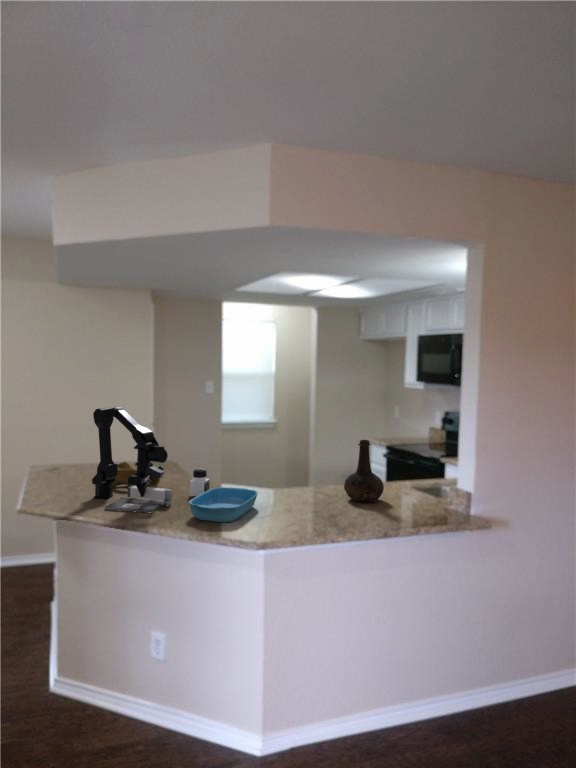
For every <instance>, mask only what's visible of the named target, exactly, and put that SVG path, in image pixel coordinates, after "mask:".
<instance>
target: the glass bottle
mask: <svg viewBox="0 0 576 768" xmlns="http://www.w3.org/2000/svg"><path fill="white" fill-rule="evenodd" d="M371 445H372V444H371V443H370V440H369V439H360V440H359V443H357V446H359V452H358V462H357V467H356V471H355V472H354V473H351V474H350V475H349V476H348V477H347V478H346V479H345V480H344V484H343V488H344V491H345V493H346V495H347V496H348V497H349V498H350V499H352V500H353V501H355V502H359V503H372V502H376V501H377V500H378V499H379V498H380V497H381V496H382V495H383V492H384V487H385V486H384V482H383V480H382V479H381V478H380V477H379V476H378V475H377V474H375V473H374V472H373V471H372V468H371V461H370V446H371Z"/></svg>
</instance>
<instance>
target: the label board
mask: <svg viewBox="0 0 576 768" xmlns="http://www.w3.org/2000/svg"><path fill="white" fill-rule="evenodd" d="M163 504H164V505H171V506H172V500H169V501H164V500H154V499H145V498H135V497H120V498H118V499H116V500H115V501H113V502H111V503H109V504H107V505H105V506H104V510H105V511H113V510H121V511H120V512H126V511H136V512H135V513H140V512H153V511H154V510H155V511H156V509H157V508H158V507H160V506H161V505H162V506H164V505H163ZM162 506H161V507H162ZM161 507H160V508H161ZM158 509H159V508H158ZM158 509H157V510H158ZM155 511H154V512H155ZM154 512H153V513H154Z"/></svg>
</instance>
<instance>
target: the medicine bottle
mask: <svg viewBox="0 0 576 768" xmlns="http://www.w3.org/2000/svg"><path fill="white" fill-rule="evenodd" d="M207 471H208V470H207V469H205V468H195V469H193V471H192V472H193V475H192V476H193V477H192V479H191V480H189V497H193V496H198V495H200V494H202V493H204V492H206V491H208V490H210V478H207V476H208V475H207V473H208V472H207Z"/></svg>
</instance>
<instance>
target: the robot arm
mask: <svg viewBox="0 0 576 768" xmlns="http://www.w3.org/2000/svg"><path fill="white" fill-rule="evenodd" d="M92 414H93V415H92V416H93V422H94V424H95V426H96V427H97V430H98V442H99V443H98V444H99V445H98V446H99V459H100V460H99V463H98V465H97V469H96V474H95V475H94V477H92V479H91V482H92V485H95V486H94V487H95V490H94V496H93V497H92V498H94V499H103V500H104V499H106V500H107V499H109V498H111V497H112V496H114V494H113V490H114V487H113V486H112V483H111V482H114V481H115V478H116V476H117V472H118V469H117V466H118V463H117V462H116V463H115V462H114V460H113V452H112V438H111V436H112V435H111V427H112V426H113V423H114V418H115V419H116V420H117V421H118V422H119V423H120V424H121V425H122V426H123V427H125V429H126V430H127V431H129V432H130V434H131V436H132V437H131V438H132V440H133V441H134V442H135V443H136V444H135V446H134V447H133V449H135V450H137V457H136V460H137V461H136V462H135V463H134V464H135V465H134V466H136V470H137V472H135V475H132V476H129V477H128V478H127V483H132V484H136V486H137V488H138V491H139V493H140V495H141V497H144V494H145V491H146V488H147V486H148V484H149V483H150V482H151V481H152V480H149V477H150V476H152V477H154V478H155V479H160V480H161V479H162V478H163V476H164V474H165V468H164V466H163V465H159V466H158V467H157V466H154V463H161V464H163V463H166V461H167V459H168V455H169V453H168V452H167V450H166V449H165V446H162V445H161V446H160V445H159V442H158V441H157V439H156V437H155V434H154V432H153V431H152V430H150V429H149V428H148V427H145V426H142V425H141V424H139V423H138V422H137V421H136V420H135V419H134V418H133V417H132V416H131V415H130V414H129V413H128V412H127V411H126V410H125V408H123V406H115V407H112V408H110V407H101V408H96V409H95V410H94V411H93V413H92Z"/></svg>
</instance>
